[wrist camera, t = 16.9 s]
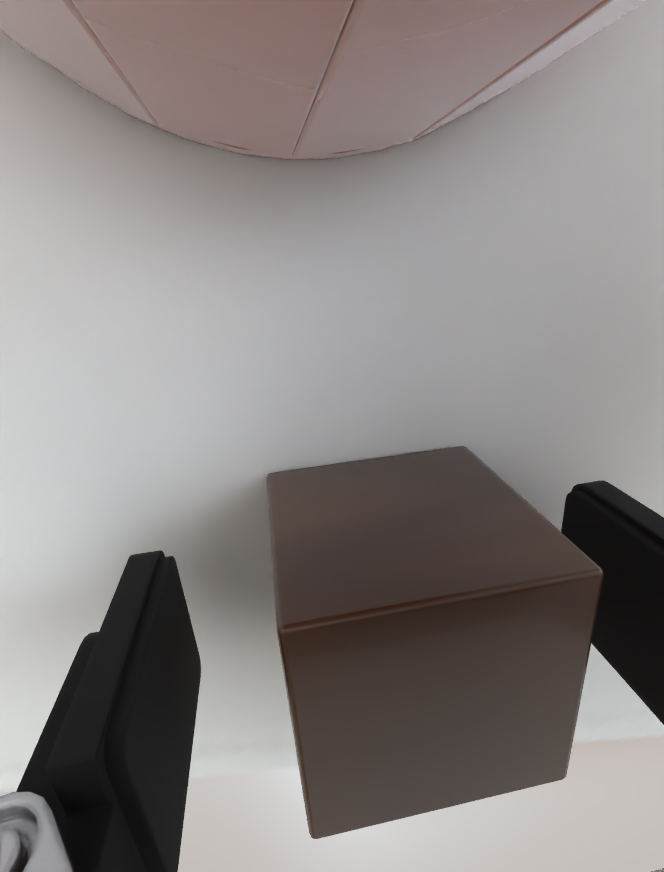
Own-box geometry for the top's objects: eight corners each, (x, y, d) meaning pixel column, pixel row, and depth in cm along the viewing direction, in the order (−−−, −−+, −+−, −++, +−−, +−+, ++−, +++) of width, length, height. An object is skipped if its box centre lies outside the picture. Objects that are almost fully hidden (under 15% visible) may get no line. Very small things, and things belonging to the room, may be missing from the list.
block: (464, 444, 10) (608, 570, 6) (459, 600, 12) (568, 781, 8) (266, 472, 10) (276, 631, 5) (289, 631, 11) (311, 844, 7)
